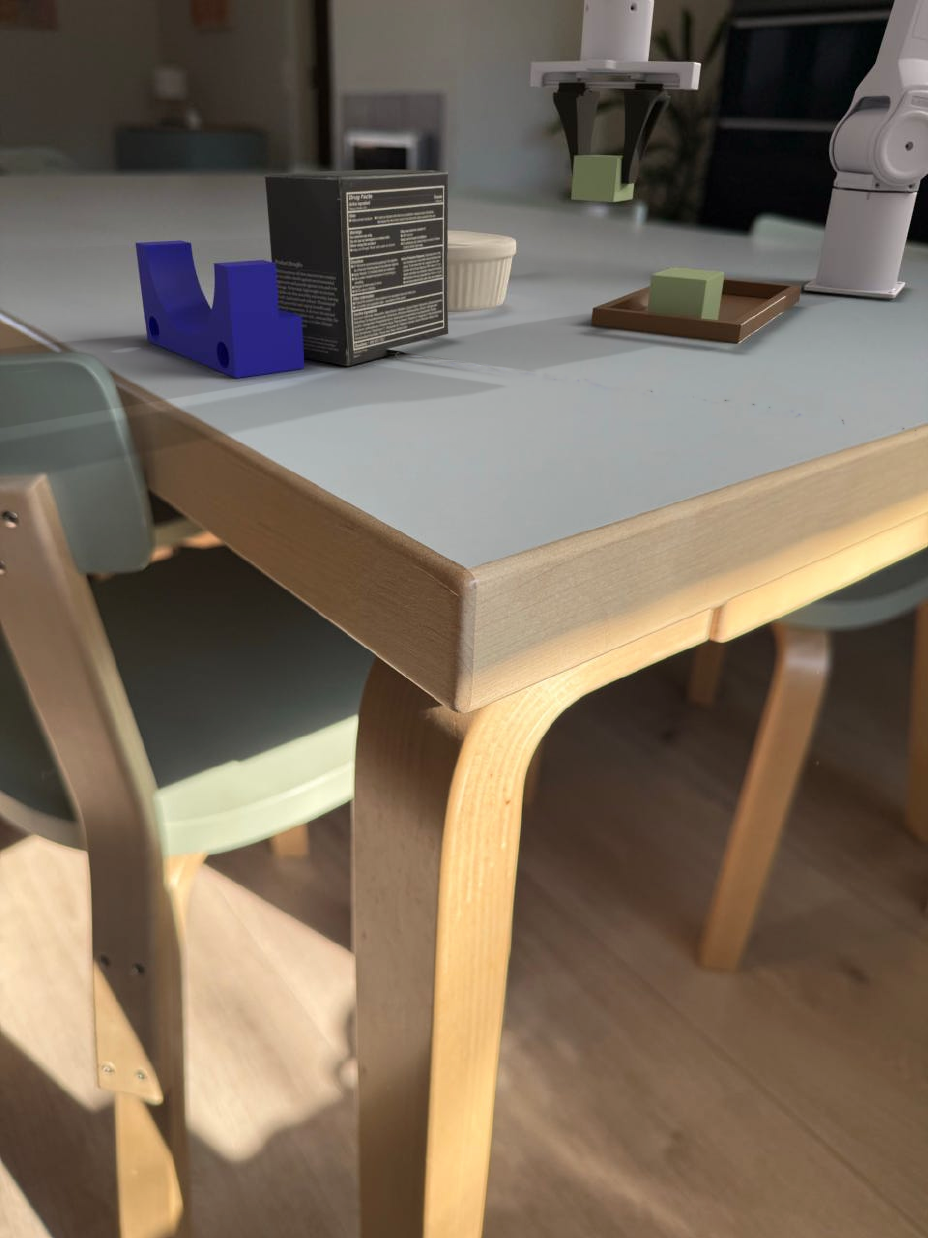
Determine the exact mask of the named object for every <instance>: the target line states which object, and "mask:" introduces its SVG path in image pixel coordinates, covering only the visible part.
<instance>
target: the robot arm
mask: <svg viewBox="0 0 928 1238" xmlns="http://www.w3.org/2000/svg"><path fill="white" fill-rule="evenodd" d="M583 2H584V3H583V14H582V15H583V17H582V28H581V29H582V31H581V43H580V44H581V46H580V57H579V60H566V61H565V60H564V61H563V60H562V61H559V60H558V61H531V63H530V80H529V87H530V88H536V89H537V88H538V89H549V88H556V89H557V91H556V92H552V101H553V104H554V107H555V109H556V111H557V114H558V116H559V119H560V122H561V125H562V128H563V131H564V135H565V139H566V144H567V148H568V153H569V160H570V167H571V175H572V176H571V177H572V178H571V179H572V180H573V168H574V156H580V155H592V154H591V153H592V152H591V151H592V138H593V133H594V126H595V119H596V114H597V109H598V106H599V101H600V98H601V97H600V96H601V91H597V90H591V89H624V91H623V100H624V142H623V151H622V156H623V158H622V167H621V184H633V183H634V184H637V183H636V182H637V178H638V175H639V171H640V168H641V164H642V161H643V158H644V155H645V152H646V150H647V148H648V145H649V143H650V140H651V138H652V136H653V133H654V132H655V130H656V127H657V125H658V123H660V120H661V118H662V116H663V114H664V113H665V111H666V109H667V108H668V106H669V103H670V101H671V95H668V90H683V91H684V90H685V91H698V90H699V83H700V75H701V67H702V64H701V62H695V61H654V60H653V61H649V54H650V46H651V36H652V25H653V18H654V17H653V16H654V8H655V7H654V6H655V0H584V1H583ZM879 47H880V48H879V51H878V53H877V57H876V61H875V64H873V66H872V68H871V69H870V70H869V72H867V74H866V75H865V76H864V78H863V80H862V81H861V82H860V83H859V85H858V87H857V88H856V90H855V92H854V95H853V97H852V101H851V104H850V106H849V108H848V109H847V112H846V113H845V115H844V116H843V117H842V118H841V120H840V121H838V122H837V125H836V127H835V128H834V129H833V132H832V134H831V138H830V141H829V147H828V148H829V149H828V153H829V160H830V163H831V166H832V167H833V170H834V171H835V172H836V177H835V178H834V180H833V188H832V191H831V198H830V202H829V207H828V213H827V218H826V223H825V228H824V234H823V239H822V245H821V249H820V255H819V260H818V264H817V270H816V276H815V278H814V279H813V280H810V281H809V282H808V283H806V284H804V286H803V290H804V291H808V292H815V293H827V294H829V293H830V294H837V295H838V294H839V295H847V296H849V295H850V296H858V297H859V296H860V297H869V298H877V299H878V298H879V299H888V300H889V299H892V300H893V299H895V298H896V297H897V296H898V295H899V293H900V292H901V291H902V290H903V289H904V287H905V285H906V282H904V281H898V278H899V273H900V269H901V264H902V259H903V256H904V251H905V246H906V242H907V239H908V238H907V237H908V233H909V229H910V226H911V225H910V224H911V220H912V216H913V212H914V207H915V203H916V198H917V195H918V191H919V188H920V184H921V180H922V179H924V177H926V176H927V175H928V0H894V2H893V6H892V9H891V11H890V15H889V19H888V21H887V24H886V28H885V31H884V35H883V38H882V41H881V44H880V46H879ZM596 76H630V79H631V80H637V81H607V80H606V81H604V80H603V81H602V80H601V81H596V80H595V78H596ZM584 80H585V81H584ZM591 80H593V81H591Z"/></svg>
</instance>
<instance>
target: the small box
mask: <svg viewBox="0 0 928 1238" xmlns="http://www.w3.org/2000/svg"><path fill="white" fill-rule="evenodd" d="M448 182H449V172H448V171H445V170H420V169H418V170H415V169H355V170H352V169H350V170H326V171H325V170H324V171H307V172H306V171H305V172H303V171H302V172H288V173H287V172H286V173H285V172H284V173H269V174H265V175H264V183H265V194H266V206H267V218H268V219H267V220H268V231H269V233H268V234H269V244H270V260H271V262H273V263H276V275H277V291H278V308H279V309H280V310H283V311H286V312H289V313H293V314H296V315H299V316H302V330H303V351H304V359H311V360H315V361H321V362H327V363H332V364H334V365H335V364H336V365H340V366H345V367H351V366H355V365H358V364H362V363H365V362H368V361H374V360H376V359H380V358H383V357H387V356H391V355H395V354H399V353H402V352H403V351H401V350H394V348H397V347H400V346H404V345H405V346H406V345H409V344H413V343H417V342H421V341H425V340H429V339H434V338H438V337H441V336H445V335H449V311H448V309H447V307H448V301H447V289H448V288H447V286H448V284H447V277H448V275H447V272H448V269H447V266H448V263H447V254H448V231H449V224H448V223H449V206H448V205H449V186H448V185H449V183H448Z"/></svg>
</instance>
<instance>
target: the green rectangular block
mask: <svg viewBox="0 0 928 1238" xmlns="http://www.w3.org/2000/svg"><path fill="white" fill-rule="evenodd" d="M725 273H726V272H724V271H720V270H719V271H718V270H706V269H694V268H686V267H675V266H673V267H670V268H667V269H664V270H661V271H658V272H656V273H652V274H650V275H651V276H650V282H649V283H650V284H649V286H650V291H649V300H648V308H647V312H650V313H659V314H668V315H677V316H685V317H694V318H703V319H712V320H718V315H719V308H720V301H721V295H722V288H723V281H724V278H725Z"/></svg>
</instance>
